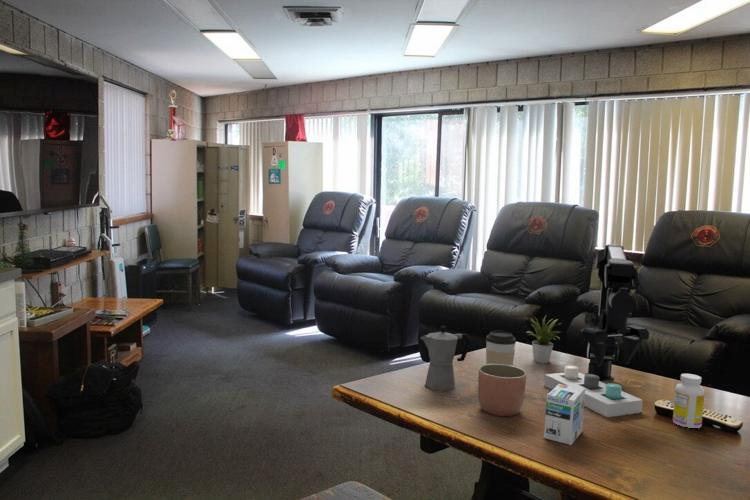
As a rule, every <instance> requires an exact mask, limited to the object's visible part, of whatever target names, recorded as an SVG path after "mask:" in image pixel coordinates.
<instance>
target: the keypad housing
mask: <svg viewBox="0 0 750 500" xmlns="http://www.w3.org/2000/svg"><path fill="white" fill-rule="evenodd" d="M584 376H585V373H582V372H579V374H578V380H572V381H570V380H567V379H565V378H564V372H558V373H557V372H556V373H546V374H544V383H543V386H544V387H546V388H548V389H550V390H551V391H552V390H553V389H554V388H555V387H556V386H557V385H558V384H562V385H566V386H570V387H575V388H580V389H584V390H585V398H584V408H585V407H586V408H588V409H590V410H592V411H594V412H596V413H598V414H599V415H601V416H604V417H605V418H613V417H619V416H626V415H627V414H628V415H632V414H633V415H634V413H635V414H641V413H640V412H642V411H643V404H644V403H643V401H644V400H643V399H641V398H639V397H637V396H635V395H633V394H629V393H627V392H625V391H623V390H622V392H621V400H611V399H608V398H606V397H605V392H606V384H607V383H605V382H602V381H599V389H596V390H589V389H587V388H585V387H584Z"/></svg>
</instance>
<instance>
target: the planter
mask: <svg viewBox="0 0 750 500" xmlns="http://www.w3.org/2000/svg"><path fill="white" fill-rule="evenodd" d="M527 376H528V374H527V371H526V370H524V369H523V368H521V367H517V366H514V365H513V366H511V365H504V364H487V365H486V364H484V365H480V366H479V367H478V375H477V377H478V378H477V379H478V380H477V381H478V384H477V394H478V395H477V398H478V404H479V406H480V408H481V409H482V411H484V412H486V413H488V414H491V415H493V416H499V417H511V416H514V415H515V416H516V415H518V413H520V412H521V410H522V408H523V405H524V399H525V395H526V394H525V393H526V385H527V384H526V383H527Z"/></svg>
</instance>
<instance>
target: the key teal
mask: <svg viewBox="0 0 750 500" xmlns="http://www.w3.org/2000/svg"><path fill="white" fill-rule="evenodd" d="M605 384H606V392H605V397H606V398H608V399H611V400H621V392H622V391H623V387H622V385H620V384H618V383H612V382H611V383H605Z"/></svg>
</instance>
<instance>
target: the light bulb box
mask: <svg viewBox="0 0 750 500" xmlns="http://www.w3.org/2000/svg"><path fill="white" fill-rule="evenodd" d="M584 398H585V390H584V389H580V388H575V387H570V386H566V385H562V384H558V385H557V386H556V387H555V388H554V389H553V390H552V389H551V390H550V392H549V393H547V394H546V403H545V418H544V431H543V432H544V433H543V438H544V439H547V440H550V441H554V442H557V443H562V444H565V445H570V446H571V445H573V443H574V442H575V441H576V440H577V439H578V437H579V436H580V435H581V433H582V432H583V422H584V408H585V406H584Z"/></svg>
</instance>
